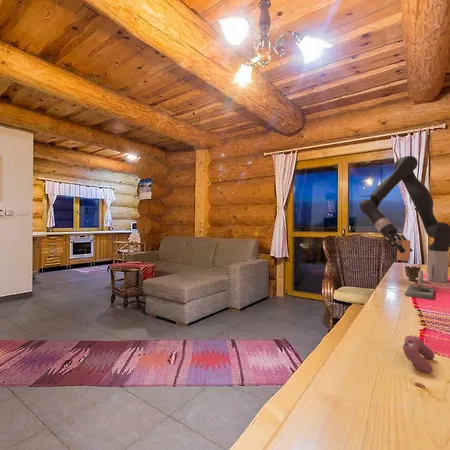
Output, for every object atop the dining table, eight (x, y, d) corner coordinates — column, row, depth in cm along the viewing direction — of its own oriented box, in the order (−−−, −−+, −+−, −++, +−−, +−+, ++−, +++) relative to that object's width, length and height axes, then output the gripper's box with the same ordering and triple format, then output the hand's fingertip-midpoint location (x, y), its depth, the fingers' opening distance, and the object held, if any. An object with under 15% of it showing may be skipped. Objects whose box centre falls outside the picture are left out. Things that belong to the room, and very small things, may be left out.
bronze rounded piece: (406, 281, 159) (407, 267, 159) (402, 278, 166) (403, 265, 166) (422, 282, 157) (422, 268, 156) (417, 279, 164) (417, 266, 163)
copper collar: (401, 258, 151) (401, 239, 150) (412, 260, 146) (412, 240, 145) (394, 259, 148) (395, 240, 148) (405, 260, 143) (406, 240, 143)
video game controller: (416, 360, 72) (402, 332, 74) (436, 357, 70) (421, 328, 71) (411, 376, 65) (396, 345, 66) (434, 374, 62) (417, 341, 64)
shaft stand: (409, 287, 144) (410, 266, 144) (433, 290, 138) (434, 268, 138) (405, 295, 128) (405, 272, 128) (432, 299, 122) (433, 274, 122)
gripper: (381, 223, 150) (404, 247, 139) (398, 223, 156) (421, 246, 146) (372, 232, 155) (393, 257, 144) (389, 232, 161) (410, 255, 151)
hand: (407, 251), depth 145 cm, fingers closed on copper collar, 5 cm apart
